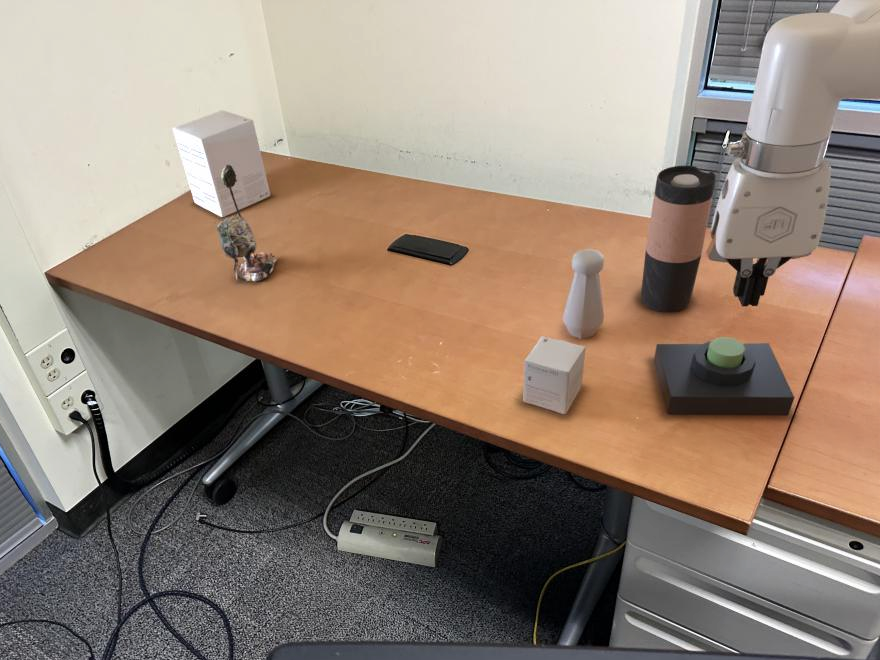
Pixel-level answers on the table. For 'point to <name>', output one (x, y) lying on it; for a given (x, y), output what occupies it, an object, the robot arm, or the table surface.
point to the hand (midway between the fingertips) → (746, 299)
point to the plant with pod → (242, 240)
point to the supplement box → (222, 161)
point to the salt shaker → (585, 295)
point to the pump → (725, 352)
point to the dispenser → (721, 382)
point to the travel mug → (676, 237)
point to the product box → (553, 374)
